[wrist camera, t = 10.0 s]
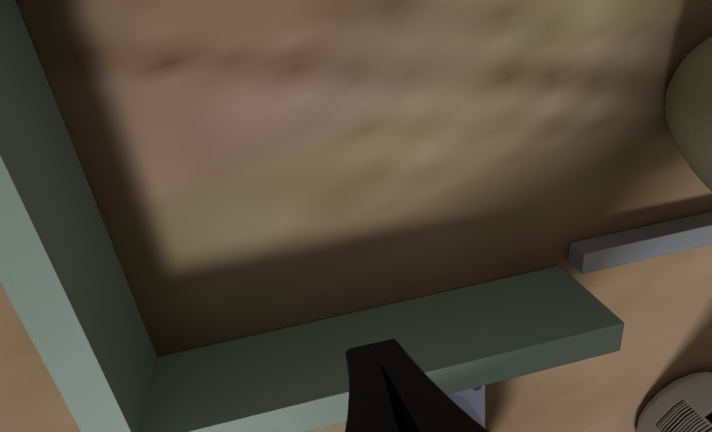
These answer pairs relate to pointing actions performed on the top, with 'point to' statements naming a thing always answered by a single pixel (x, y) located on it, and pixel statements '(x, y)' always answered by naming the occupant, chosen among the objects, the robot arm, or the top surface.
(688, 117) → the flower pot
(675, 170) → the top surface
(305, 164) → the top surface
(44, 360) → the cold frame
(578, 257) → the edging
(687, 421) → the supplement can
